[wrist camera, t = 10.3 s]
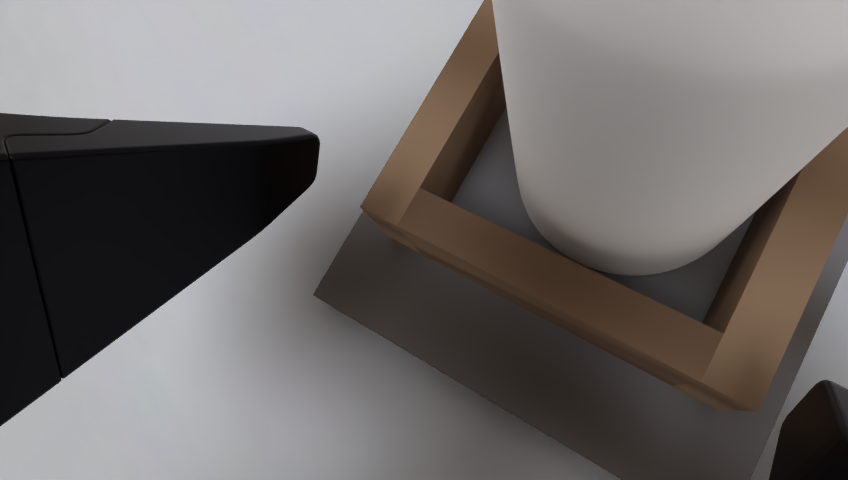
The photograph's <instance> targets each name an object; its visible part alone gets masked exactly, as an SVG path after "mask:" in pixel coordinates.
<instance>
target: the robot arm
mask: <svg viewBox="0 0 848 480" xmlns="http://www.w3.org/2000/svg"><path fill="white" fill-rule="evenodd" d="M319 148H320V141H319V138H318V136H317V135H316V134H314V133H312V132H310V131H308V130H306V129H304V128H301V127H285V126H260V125H235V124H210V123H185V122H160V121H135V120H112V121H110V120H108V119H87V118H67V117H49V116H34V115H20V114H6V113H0V426H1V425H3V424H4V423H5V422H7V421H8V420H10V419H11V418H12V417H14V416H15V415H16V414H18V413H19V412H20V411H22V410H23V409H24V408H26V407H27V406H28V405H30V404H31V403H32V402H34V401H35V400H36V399H38V398H39V397H40V396H42V395H43V394H44V393H46V392H47V391H48V390H50V389H51V388H52V387H54V386H55V385H56V384H58V383H59V382H60V381H61V378H65V377H67V376H68V375H69V374H71V373H72V372H73V371H75V370H76V369H77V368H79V367H80V366H81V365H83V364H84V363H85V362H87V361H88V360H89V359H91V358H92V357H93V356H95V355H96V354H98V353H99V352H100V351H102V350H103V349H104V348H106V347H107V346H108V345H110V344H111V343H112V342H114V341H115V340H116V339H118V338H119V337H120V336H122V335H123V334H124V333H126V332H127V331H128V330H130V329H131V328H132V327H134V326H135V325H136V324H138V323H139V322H140V321H142V320H143V319H145V318H146V317H147V316H149V315H150V314H151V313H153V312H154V311H155V310H157V309H158V308H159V307H161V306H162V305H163V304H165V303H166V302H167V301H169V300H170V299H171V298H173V297H174V296H175V295H177V294H178V293H179V292H181V291H182V290H183V289H185V288H186V287H187V286H189V285H190V284H192V283H193V282H194V281H196V280H197V279H198V278H200V277H201V276H202V275H204V274H205V273H206V272H208V271H209V270H210V269H212V268H213V267H214V266H216V265H217V264H218V263H220V262H221V261H222V260H224V259H225V258H226V257H228V256H229V255H230V254H232V253H233V252H234V251H236V250H237V249H239V248H240V247H241V246H243V245H244V244H245V243H247V242H248V241H249V240H251V239H252V238H253V237H255V236H256V235H257V234H258V233H260V232H261V231H262V230H263V229H264V228H265V227H267V226H268V225H269V224H270V223H271V222H272V221H273V220H274V219H275V218H276V217H278V216H279V215H280V214H281V213H282V212H283V211H284V210H285V209H286V208H287V207H288V206H289V205H291V204H292V203H293V202H294V201H295V200H296V199H297V198H298V197H299V196H300V195H301V194H302V193H303V192H305V191H306V190H307V189H308V188H309V187H310V186H311V185H312V183H313V182H314V180H315V177H316V174H317V165H318V157H319ZM769 480H848V389H846V388H844V387H842V386H840V385H838V384H836V383H834V382H832V381H829V380H823V381H820V382H819V383H817V384H816V385H815V386H814V387H813V388H812V389H811V390H810V391H809V392H808V393H807V394H806V396H805V397H804V398H803V399H802V400H801V401H800V402H799V403H798V404H797V405H796V407H795V408H794V409H793V410H792V411H791V412H790V413H789V414H788V416H787V417H786V419H785V420H784V422H783V424H782V427H781V430H780V434H779V438H778V443H777V447H776V451H775V456H774V460H773V464H772V469H771V473H770V478H769Z"/></svg>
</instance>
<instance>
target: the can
mask: <svg viewBox="0 0 848 480" xmlns="http://www.w3.org/2000/svg"><path fill="white" fill-rule="evenodd" d="M492 4H493V11H494V18H495V26H496V33H497V41H498V48H499V55H500V63H501V70H502V77H503V84H504V91H505V99H506V106H507V113H508V120H509V127H510V134H511V141H512V147H513V154H514V161H515V167H516V174H517V180H518V185H519V190H520V194H521V198H522V201H523V204H524V206H525V209H526V211H527V213H528V215H529V217H530V219H531V221H532V222H533V224H534V226H535V227H536V228H537V230H538V231H539V232H540V234H541V235H542V236H543V237H544V238H545V239H546V240H547V241H548V242H549V243H550V244H551V245H552V246H553V247H554V248H556V249H557V250H558V251H559V252H561V253H562V254H564V255H565V256H567V257H568V258H570V259H572V260H574V261H575V262H577V263H579V264H582V265H584V266H586V267H589V268H592V269H595V270H598V271H602V272H606V273H611V274H617V275H628V276H640V275H651V274H658V273H663V272H667V271H670V270H674V269H677V268H679V267H682V266H684V265H687V264H689V263H691V262H693V261H695V260H696V259H698V258H700V257H702V256H703V255H705V254H706V253H708V252H709V251H710V250H712V249H713V248H714V247H716V246H717V245H718V244H719V243H720V242H722V241H723V240H724V239H725V238H726V237H727V236H728V235H730V234H731V233H732V232H733V231H734V230H735V229H736V228H737V227H739V226H740V225H741V224H742V223H743V222H744V221H745V220H746V219H747V218H749V217H750V216H751V215H752V214H753V213H754V212H755V211H756V210H757V209H759V208H760V207H761V206H762V205H763V204H764V203H765V202H766V201H767V200H768V199H769V198H771V197H772V196H773V195H774V194H775V193H776V192H777V191H778V190H779V189H780V188H782V187H783V186H784V185H785V184H786V183H787V182H788V181H789V180H790V179H791V178H792V177H794V176H795V175H796V174H797V173H798V172H799V171H800V170H801V169H802V168H803V167H804V166H805V165H807V164H808V163H809V162H810V161H811V160H812V159H813V158H814V157H815V156H816V155H817V154H819V153H820V152H821V151H822V150H823V149H824V148H825V147H826V146H827V145H828V144H829V143H830V142H832V141H833V140H834V139H835V138H836V137H837V136H838V135H839V134H840V133H841V132H842V131H843V130H845V129H846V128H847V127H848V0H492Z"/></svg>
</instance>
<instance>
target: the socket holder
mask: <svg viewBox="0 0 848 480" xmlns="http://www.w3.org/2000/svg"><path fill="white" fill-rule="evenodd" d="M360 207H361V208H362V209H363V210H364V211H363V212H362V214H361V216H360V217H359V219H358V221H357V222H356V224H355V226H354V227H353V229H352V231H351V232H350V234H349V236H348V237H347V239H346V241H345V242H344V244H343V246H342V247H341V249H340V251H339V252H338V254H337V256H336V257H335V259H334V261H333V262H332V264H331V266H330V267H329V269H328V271H327V272H326V274H325V276H324V277H323V279H322V281H321V282H320V284H319V286H318V287H317V289H316V291H315V292H314V294H313V295H314V296H316V297H317V298H319V299H321V300H322V301H324V302H326V303H327V304H329V305H331V306H332V307H334V308H336V309H337V310H339V311H341V312H342V313H344V314H346V315H347V316H349V317H351V318H352V319H354V320H356V321H357V322H359V323H361V324H362V325H364V326H366V327H367V328H369V329H371V330H373V331H374V332H376V333H378V334H379V335H381V336H383V337H384V338H386V339H388V340H389V341H391V342H393V343H394V344H396V345H398V346H399V347H401V348H403V349H404V350H406V351H408V352H409V353H411V354H413V355H414V356H416V357H418V358H419V359H421V360H423V361H424V362H426V363H428V364H430V365H431V366H433V367H435V368H436V369H438V370H440V371H441V372H443V373H445V374H446V375H448V376H450V377H451V378H453V379H455V380H456V381H458V382H460V383H461V384H463V385H465V386H466V387H468V388H470V389H471V390H473V391H475V392H476V393H478V394H480V395H481V396H483V397H485V398H486V399H488V400H490V401H492V402H493V403H495V404H497V405H498V406H500V407H502V408H503V409H505V410H507V411H508V412H510V413H512V414H513V415H515V416H517V417H518V418H520V419H522V420H523V421H525V422H527V423H528V424H530V425H532V426H533V427H535V428H537V429H538V430H540V431H542V432H543V433H545V434H547V435H548V436H550V437H552V438H554V439H555V440H557V441H559V442H560V443H562V444H564V445H565V446H567V447H569V448H570V449H572V450H574V451H575V452H577V453H579V454H580V455H582V456H584V457H585V458H587V459H589V460H590V461H592V462H594V463H595V464H597V465H599V466H600V467H602V468H604V469H605V470H607V471H609V472H611V473H612V474H614V475H616V476H617V477H619V478H621V479H622V480H750V478H751V475H752V473H753V471H754V469H755V466H756V464H757V462H758V460H759V457H760V455H761V453H762V451H763V448H764V446H765V444H766V442H767V440H768V437H769V435H770V433H771V431H772V428H773V426H774V424H775V422H776V419H777V417H778V415H779V413H780V411H781V408H782V406H783V404H784V402H785V399H786V397H787V395H788V393H789V390H790V388H791V386H792V384H793V381H794V379H795V377H796V375H797V373H798V370H799V368H800V366H801V364H802V361H803V359H804V357H805V355H806V352H807V350H808V348H809V346H810V344H811V341H812V339H813V337H814V335H815V332H816V330H817V328H818V326H819V323H820V321H821V319H822V317H823V314H824V312H825V310H826V308H827V306H828V303H829V301H830V299H831V297H832V294H833V292H834V290H835V288H836V285H837V283H838V281H839V279H840V277H841V274H842V272H843V270H844V268H845V265H846V263H847V261H848V127H847V128H846V129H845V130H843V131H842V132H841V133H840V134H839V135H838V136H837V137H836V138H835V139H834V140H833V141H832V142H830V143H829V144H828V145H827V146H826V147H825V148H824V149H823V150H822V151H821V152H820V153H819V154H817V155H816V156H815V157H814V158H813V159H812V160H811V161H810V162H809V163H808V164H807V165H805V166H804V167H803V168H802V169H801V170H800V171H799V172H798V173H797V174H796V175H795V176H794V177H792V178H791V179H790V180H789V181H788V182H787V183H786V184H785V185H784V186H783V187H782V188H780V189H779V190H778V191H777V192H776V193H775V194H774V195H773V196H772V197H771V198H769V199H768V200H767V201H766V202H765V203H764V204H763V205H762V206H761V207H760V208H759V209H757V210H756V211H755V212H754V213H753V214H752V215H751V216H750V217H749V218H747V219H746V220H745V221H744V222H743V223H742V224H741V225H740V226H739V227H737V228H736V229H735V230H734V231H733V232H732V233H731V234H730V235H728V236H727V237H726V238H725V239H724V240H723V241H722V242H720V243H719V244H718V245H717V246H716V247H714V248H713V249H712V250H710V251H709V252H708V253H706V254H705V255H703V256H702V257H700V258H698V259H696V260H695V261H693V262H691V263H689V264H687V265H684V266H682V267H679V268H677V269H674V270H670V271H667V272H663V273H658V274H651V275H640V276H628V275H617V274H611V273H606V272H602V271H598V270H595V269H592V268H589V267H586V266H584V265H582V264H579V263H577V262H575V261H574V260H572V259H570V258H568V257H567V256H565V255H564V254H562V253H561V252H559V251H558V250H557V249H556V248H554V247H553V246H552V245H551V244H550V243H549V242H548V241H547V240H546V239H545V238H544V237H543V236H542V235H541V234H540V232H539V231H538V230H537V228H536V227H535V226H534V224H533V222H532V221H531V219H530V217H529V215H528V213H527V211H526V209H525V206H524V204H523V201H522V198H521V194H520V190H519V185H518V180H517V174H516V167H515V161H514V154H513V147H512V141H511V134H510V127H509V120H508V113H507V106H506V99H505V91H504V84H503V77H502V70H501V63H500V55H499V48H498V41H497V33H496V26H495V18H494V11H493V4H492V0H484V1H483V3H482V5H481V6H480V8H479V10H478V11H477V13H476V15H475V16H474V18H473V20H472V21H471V23H470V25H469V26H468V28H467V30H466V31H465V33H464V35H463V36H462V38H461V40H460V41H459V43H458V45H457V46H456V48H455V50H454V51H453V53H452V55H451V56H450V58H449V60H448V61H447V63H446V65H445V66H444V68H443V70H442V71H441V73H440V75H439V76H438V78H437V80H436V81H435V83H434V85H433V86H432V88H431V90H430V91H429V93H428V95H427V96H426V98H425V100H424V101H423V103H422V105H421V106H420V108H419V110H418V111H417V113H416V115H415V116H414V118H413V120H412V121H411V123H410V125H409V126H408V128H407V130H406V131H405V133H404V135H403V136H402V138H401V140H400V141H399V143H398V145H397V146H396V148H395V150H394V151H393V153H392V155H391V156H390V158H389V160H388V161H387V163H386V165H385V166H384V168H383V170H382V171H381V173H380V175H379V176H378V178H377V180H376V181H375V183H374V185H373V186H372V188H371V190H370V191H369V193H368V195H367V196H366V198H365V200H364V201H363V203H362V205H361V206H360Z"/></svg>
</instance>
